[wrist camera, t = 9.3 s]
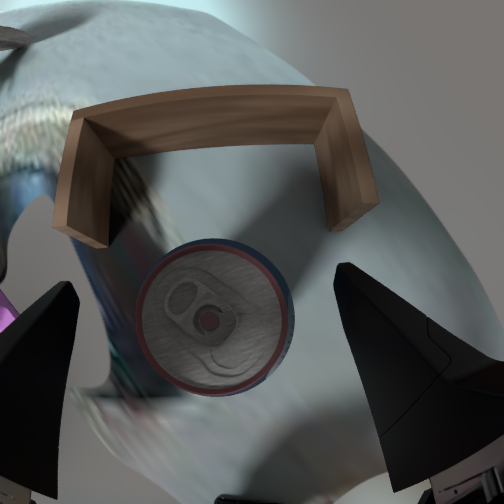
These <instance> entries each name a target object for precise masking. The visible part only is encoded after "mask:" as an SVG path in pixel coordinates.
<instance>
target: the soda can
mask: <svg viewBox="0 0 504 504" xmlns="http://www.w3.org/2000/svg"><path fill="white" fill-rule="evenodd" d="M294 324H295V314H294V306H293V301H292V297H291V294H290V291H289V288H288V286H287V284H286V282H285V280H284V278H283V276H282V275H281V273H280V272H279V271H278V269H277V268H276V267H275V266H274V265H273V264H272V263H271V262H270V261H269V260H268V259H267V258H266V257H265V256H263V255H262V254H261V253H259V252H258V251H256V250H254V249H253V248H251V247H249V246H247V245H244V244H242V243H239V242H236V241H232V240H226V239H214V238H211V239H201V240H196V241H192V242H189V243H186V244H183V245H181V246H179V247H177V248H175V249H173V250H172V251H170V252H169V253H167V254H166V255H165V256H163V257H162V258H161V259H160V260H159V261H158V262H157V263H156V264H155V265H154V266H153V267H152V269H151V270H150V271H149V273H148V274H147V276H146V278H145V279H144V281H143V283H142V286H141V288H140V291H139V294H138V298H137V303H136V310H135V326H136V333H137V337H138V341H139V344H140V346H141V349H142V351H143V353H144V355H145V357H146V358H147V360H148V361H149V363H150V364H151V366H152V367H153V368H154V369H155V370H156V371H157V372H158V373H159V374H160V375H161V376H162V377H163V378H164V379H166V380H167V381H168V382H170V383H171V384H173V385H175V386H176V387H178V388H180V389H183V390H185V391H188V392H191V393H194V394H198V395H203V396H210V397H222V396H230V395H235V394H239V393H242V392H245V391H247V390H249V389H251V388H253V387H255V386H257V385H259V384H260V383H262V382H263V381H264V380H266V379H267V378H268V377H269V376H270V375H271V374H272V373H273V372H274V371H275V370H276V369H277V368H278V366H279V365H280V364H281V362H282V361H283V359H284V357H285V356H286V354H287V352H288V349H289V347H290V344H291V341H292V337H293V332H294Z"/></svg>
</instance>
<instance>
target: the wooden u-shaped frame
mask: <svg viewBox="0 0 504 504" xmlns="http://www.w3.org/2000/svg"><path fill="white" fill-rule="evenodd" d="M266 144H314V146H315V151H316V156H317V161H318V167H319V172H320V178H321V184H322V189H323V195H324V202H325V208H326V214H327V221H328V228H329V232H330V231H343V230H344V229H345V228H347V227H348V226H349V225H351V224H352V223H354V222H355V221H356V220H358V219H359V218H360V217H362V216H363V215H364V214H366V213H367V212H368V211H370V210H371V209H372V208H374V207H375V206H376V205H378V204H379V199H378V194H377V190H376V185H375V181H374V177H373V172H372V168H371V164H370V160H369V156H368V153H367V149H366V145H365V142H364V138H363V134H362V131H361V128H360V124H359V121H358V118H357V115H356V111H355V108H354V105H353V103H352V99H351V96H350V93H349V91H348V89H342V88H331V87H320V86H304V85H230V86H213V87H201V88H191V89H182V90H174V91H166V92H159V93H153V94H147V95H141V96H135V97H130V98H125V99H120V100H115V101H111V102H106V103H102V104H98V105H94V106H90V107H86V108H82V109H79V110H75V111H73V115H72V118H71V122H70V126H69V130H68V134H67V138H66V142H65V147H64V151H63V156H62V161H61V167H60V172H59V178H58V184H57V191H56V198H55V206H54V216H53V226H52V227H53V228H54V229H57V230H58V231H61V232H63V233H65V234H67V235H69V236H71V237H73V238H75V239H77V240H79V241H82V242H84V243H86V244H88V245H90V246H92V247H95V248H106V247H109V218H110V201H111V189H112V178H113V168H114V160H115V159H119V158H125V157H131V156H138V155H145V154H152V153H160V152H169V151H177V150H187V149H198V148H210V147H223V146H241V145H266Z"/></svg>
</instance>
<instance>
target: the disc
mask: <svg viewBox="0 0 504 504" xmlns="http://www.w3.org/2000/svg"><path fill="white" fill-rule="evenodd" d="M31 42H32V37H31V36H30V35H28V34H27V33H25V32H23V31H20V30H19V29H15V28H12V27H4V26H0V51H3V50H10V49H16V48H20V47H25V46H26V45H28V44H30V43H31Z"/></svg>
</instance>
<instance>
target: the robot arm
mask: <svg viewBox="0 0 504 504" xmlns="http://www.w3.org/2000/svg"><path fill="white" fill-rule="evenodd" d="M333 287H334V292H335V296H336V300H337V304H338V308H339V313H340V317H341V321H342V325H343V329H344V332H345V335H346V338H347V340H348V343H349V346H350V349H351V352H352V355H353V357H354V360H355V363H356V366H357V369H358V372H359V375H360V378H361V381H362V384H363V387H364V390H365V394H366V397H367V400H368V403H369V406H370V410H371V413H372V416H373V419H374V423H375V426H376V429H377V433H378V436H379V438H380V439H379V440H380V444H381V447H382V451H383V455H384V458H385V462H386V466H387V470H388V473H389V477H390V481H391V485H392V489H393V492H394V493H395V492H398V491H401V490H403V489H405V488H408V487H410V486H412V485H415V484H417V483H420V482H422V481H424V480H426V479H428V478H429V480H430V484H431V487H432V488H430V489H428V490H426V491H424V493H423V495H422V496H421V498H420V500H419V502H418V504H504V361H498V360H495V359H492V358H490V357H488V356H486V355H484V354H483V353H481V352H480V351H478V350H477V349H475V348H474V347H472V346H470V345H469V344H467V343H466V342H464V341H462V340H461V339H459V338H458V337H456V336H455V335H453V334H452V333H450V332H449V331H447V330H446V329H444V328H443V327H442V326H440V325H439V324H437V323H436V322H435V321H433V320H432V319H430V318H429V317H427V316H426V315H425V314H424V313H422V312H421V311H419V310H418V309H417V308H415V307H414V306H412V305H411V304H410V303H408V302H407V301H405V300H404V299H403V298H401V297H400V296H398V295H397V294H396V293H394V292H393V291H391V290H390V289H388V288H387V287H386V286H384V285H383V284H381V283H380V282H378V281H377V280H375V279H374V278H373V277H371V276H370V275H368V274H367V273H365V272H364V271H362V270H361V269H359V268H358V267H356V266H355V265H353V264H352V263H350V262H345V263H339V264H338V265H337V268H336V273H335V278H334V283H333ZM79 306H80V301H79V297H78V296H77V293H76V291H75V289H74V287H73V285H72V283H71V282H70V281H60V282H59V283H58V284H56V285H55V286H54V287H52V288H51V289H50V290H49V291H47V292H46V293H45V294H44V295H43V296H42V297H40V298H39V299H38V300H37V301H35V302H34V303H33V304H32V305H31V306H30V307H29V308H27V309H26V310H25V311H24V312H23V313H22V314H20V315H19V316H18V317H17V318H16V319H15V320H14V321H13V322H12V323H10V324H9V325H8V326H7V327H6V328H5V329H4V330H3V331H2V332H1V333H0V504H36V502H35V501H33V500H31V491H35V492H37V493H40V494H42V495H45V496H47V497H50V498H53V499H56V500H57V498H58V453H59V452H58V451H59V448H58V447H59V437H60V426H61V417H62V408H63V401H64V394H65V388H66V381H67V376H68V370H69V365H70V360H71V355H72V350H73V345H74V340H75V332H76V326H77V318H78V312H79ZM219 502H221V504H276V503H258V502H247V501H237V500H229V499H222V498H218V499H216V500H215V501H214V504H219Z"/></svg>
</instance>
